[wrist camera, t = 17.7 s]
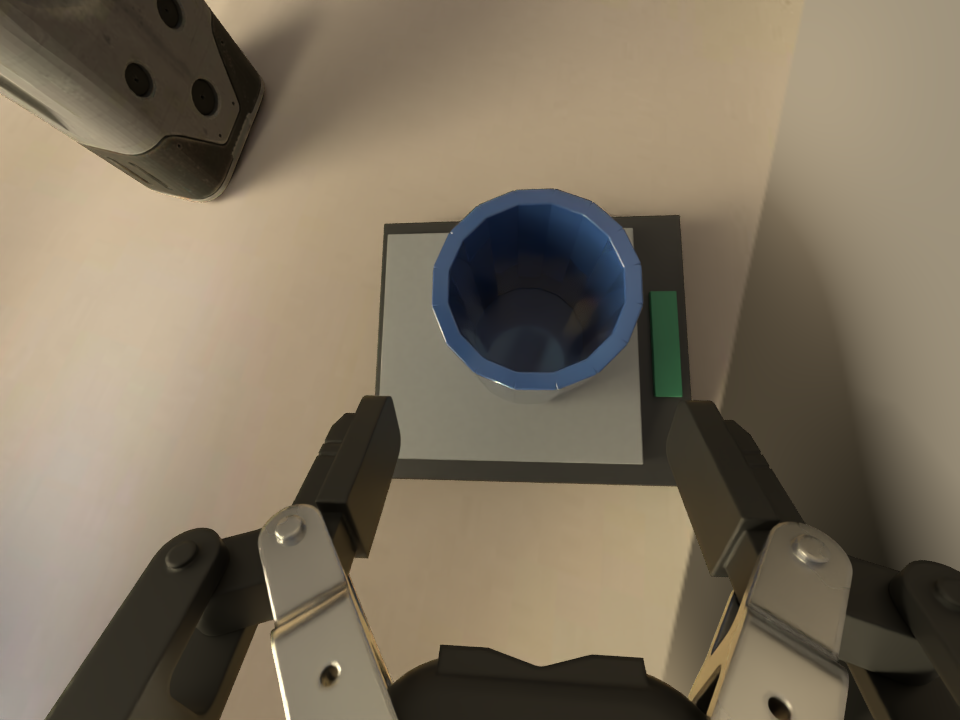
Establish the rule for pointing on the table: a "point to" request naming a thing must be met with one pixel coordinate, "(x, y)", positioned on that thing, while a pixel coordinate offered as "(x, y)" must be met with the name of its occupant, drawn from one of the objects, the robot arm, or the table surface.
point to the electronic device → (135, 85)
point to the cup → (536, 293)
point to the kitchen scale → (533, 427)
